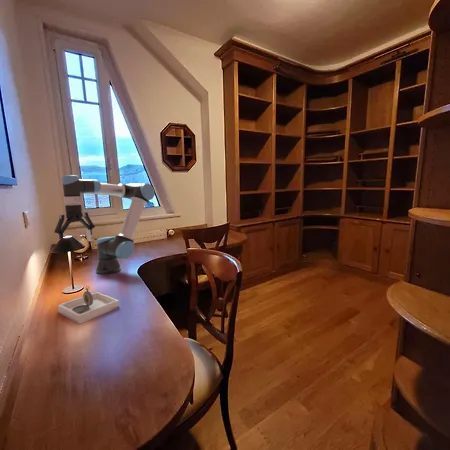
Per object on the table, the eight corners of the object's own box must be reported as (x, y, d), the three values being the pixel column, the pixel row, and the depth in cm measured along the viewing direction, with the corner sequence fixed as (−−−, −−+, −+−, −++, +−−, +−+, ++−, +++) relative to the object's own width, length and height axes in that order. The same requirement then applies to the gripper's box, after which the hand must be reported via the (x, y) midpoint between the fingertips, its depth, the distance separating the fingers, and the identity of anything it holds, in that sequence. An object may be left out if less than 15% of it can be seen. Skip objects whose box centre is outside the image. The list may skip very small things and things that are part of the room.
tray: (97, 298, 126) (97, 291, 126) (119, 307, 116) (118, 300, 116) (58, 312, 111) (57, 305, 111) (79, 324, 101) (78, 316, 101)
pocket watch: (68, 314, 108) (66, 291, 106) (79, 305, 116) (78, 284, 115) (87, 313, 108) (86, 291, 107) (97, 305, 116) (96, 284, 115)
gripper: (51, 206, 122) (56, 249, 125) (99, 203, 143) (102, 239, 146) (43, 206, 125) (48, 247, 129) (91, 202, 146) (94, 238, 150)
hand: (77, 243), depth 137 cm, fingers open, 13 cm apart
